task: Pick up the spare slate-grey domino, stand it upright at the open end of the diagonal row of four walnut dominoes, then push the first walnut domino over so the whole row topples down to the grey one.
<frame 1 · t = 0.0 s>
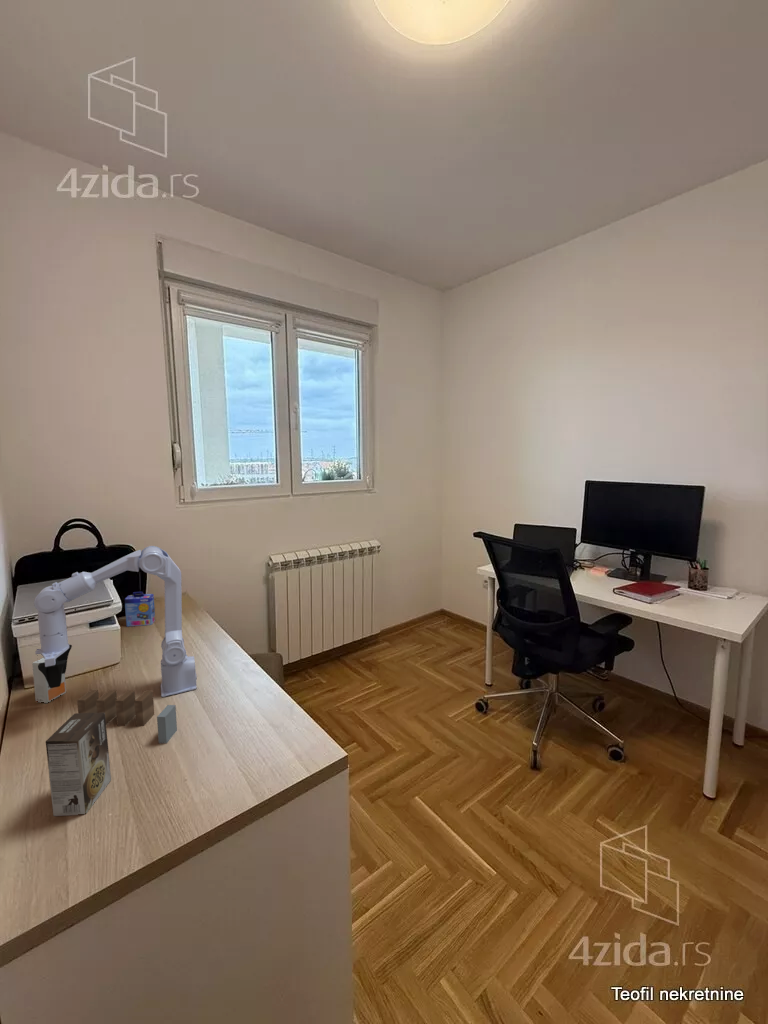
hand: (58, 680, 112), 10 cm above the table, tool pointing down, fingers open, 7 cm apart
domino 1: (89, 719, 112), on the table
domino 4: (145, 720, 111), on the table
domino 3: (126, 719, 111), on the table
ink cartridge box: (141, 624, 177), on the table
domino 2: (108, 719, 112), on the table
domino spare: (168, 736, 105), on the table
coffee box: (83, 798, 86), on the table
skincare box: (51, 697, 122), on the table
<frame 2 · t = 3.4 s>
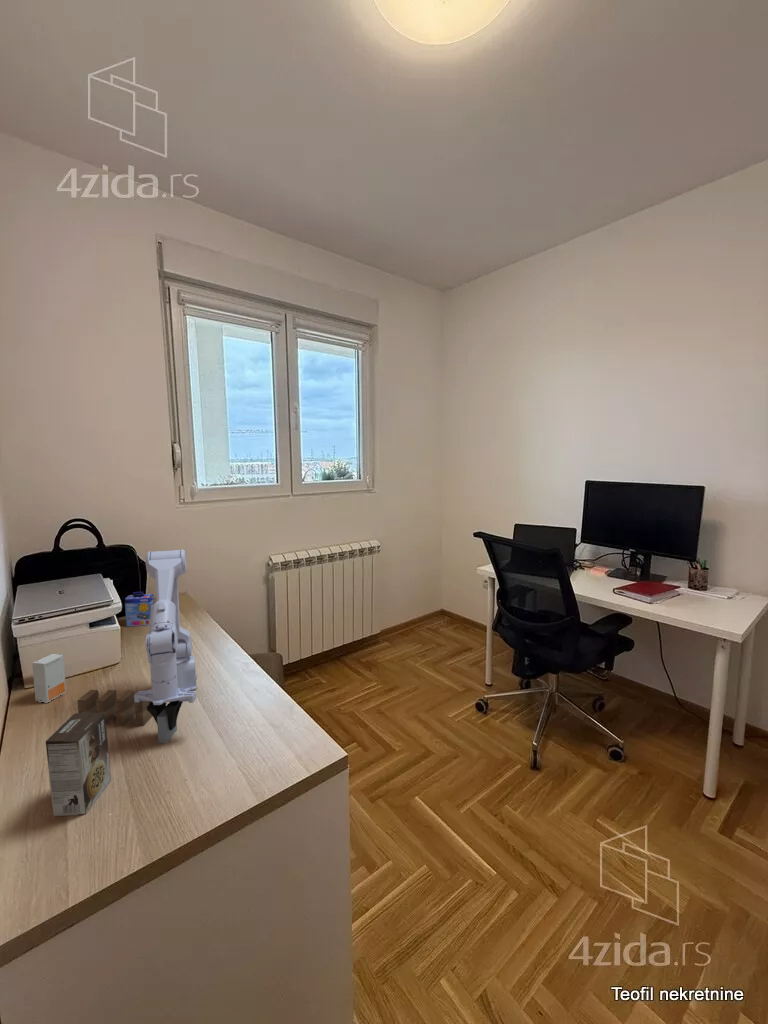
hand: (167, 727, 104), 2 cm above the table, tool pointing down, fingers closed on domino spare, 2 cm apart
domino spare: (168, 736, 105), on the table, touching gripper
everything else where it was.
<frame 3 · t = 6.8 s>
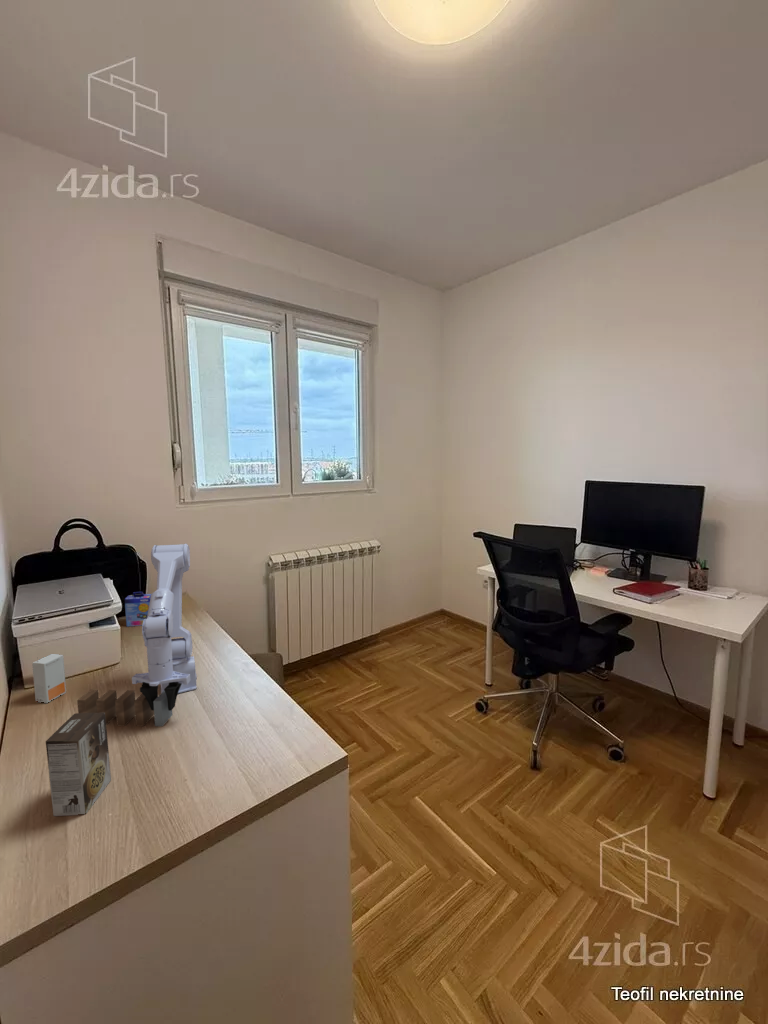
hand: (163, 708, 111), 3 cm above the table, tool pointing down, fingers open, 4 cm apart
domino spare: (163, 720, 111), on the table
everything else where it was.
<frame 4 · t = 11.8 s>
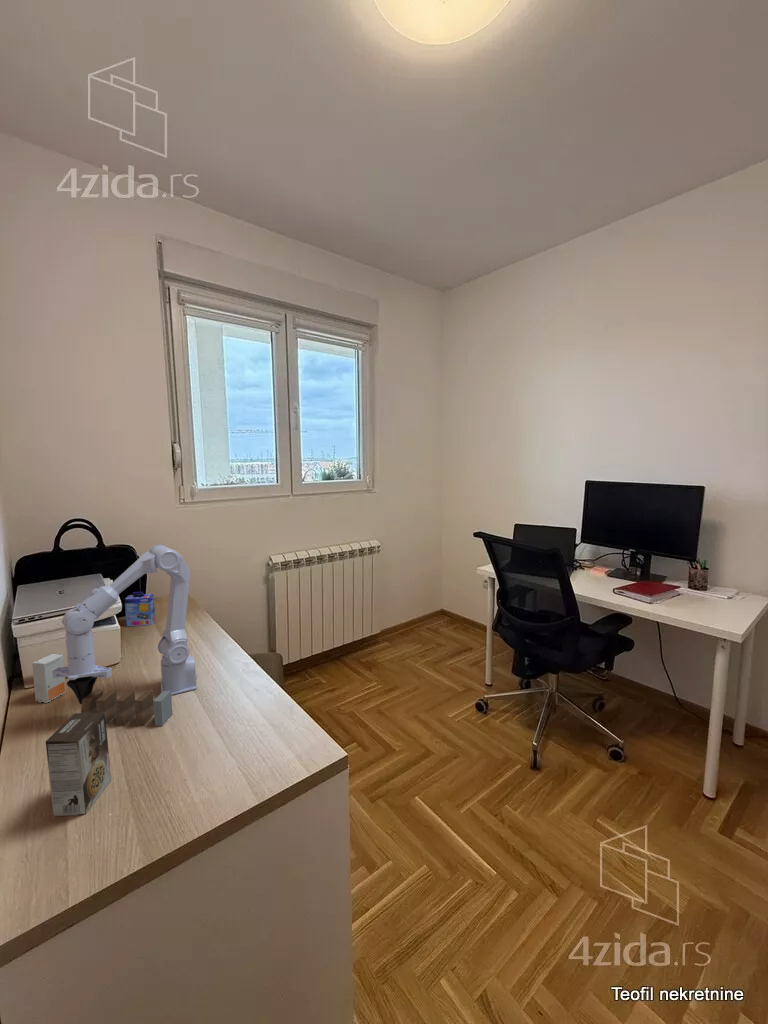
hand: (85, 702, 111), 5 cm above the table, tool pointing down, fingers closed
domino 1: (89, 718, 112), on the table, tilted 12°
everything else where it was.
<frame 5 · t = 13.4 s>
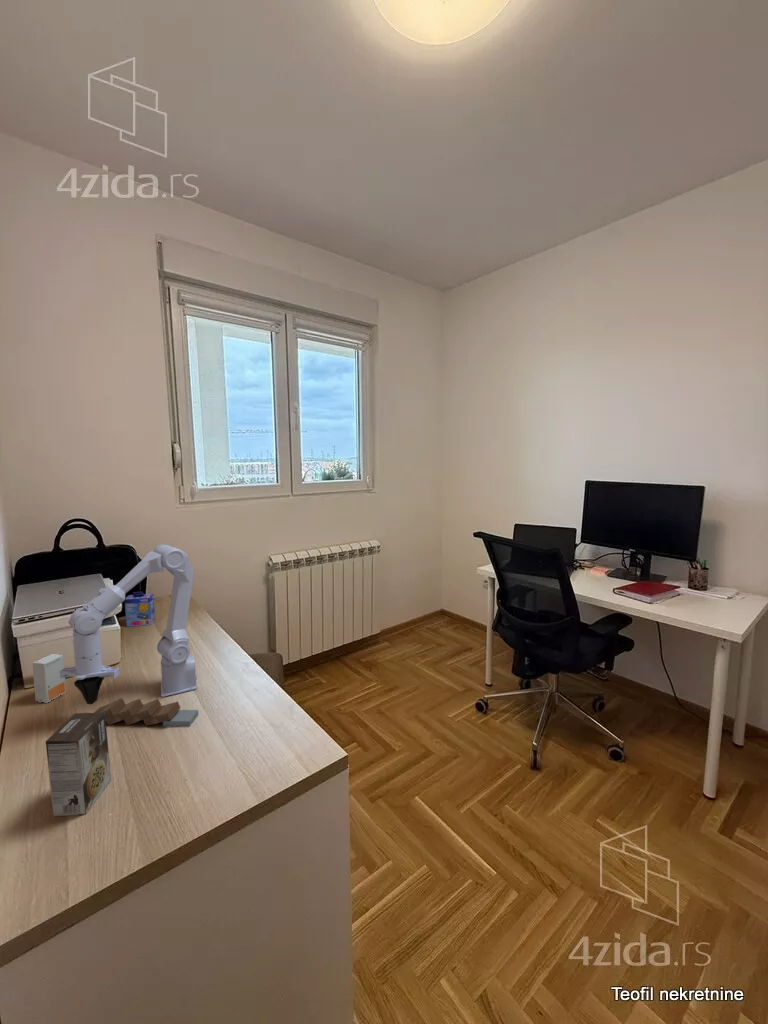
hand: (92, 702, 111), 5 cm above the table, tool pointing down, fingers closed
domino 1: (94, 716, 111), point 1 cm above the table, tilted 66°, touching domino 2
domino 4: (150, 716, 111), point 1 cm above the table, tilted 72°, touching domino 3
domino 3: (131, 716, 111), point 1 cm above the table, tilted 66°, touching domino 2, domino 4
domino 2: (112, 716, 111), point 1 cm above the table, tilted 66°, touching domino 1, domino 3
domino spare: (168, 718, 111), on the table, tilted 90°
everything else where it was.
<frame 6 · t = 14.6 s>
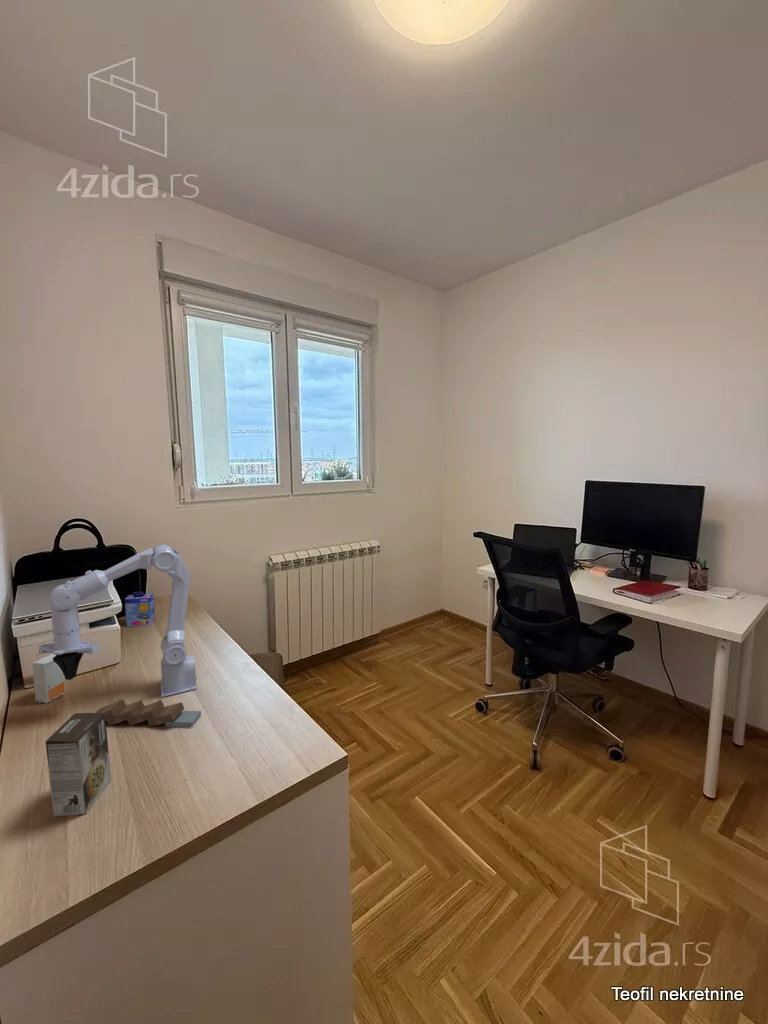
hand: (71, 677, 113), 10 cm above the table, tool pointing down, fingers closed
domino 4: (155, 717, 111), point 1 cm above the table, tilted 70°, touching domino 3, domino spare
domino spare: (170, 719, 111), on the table, tilted 90°, touching domino 4
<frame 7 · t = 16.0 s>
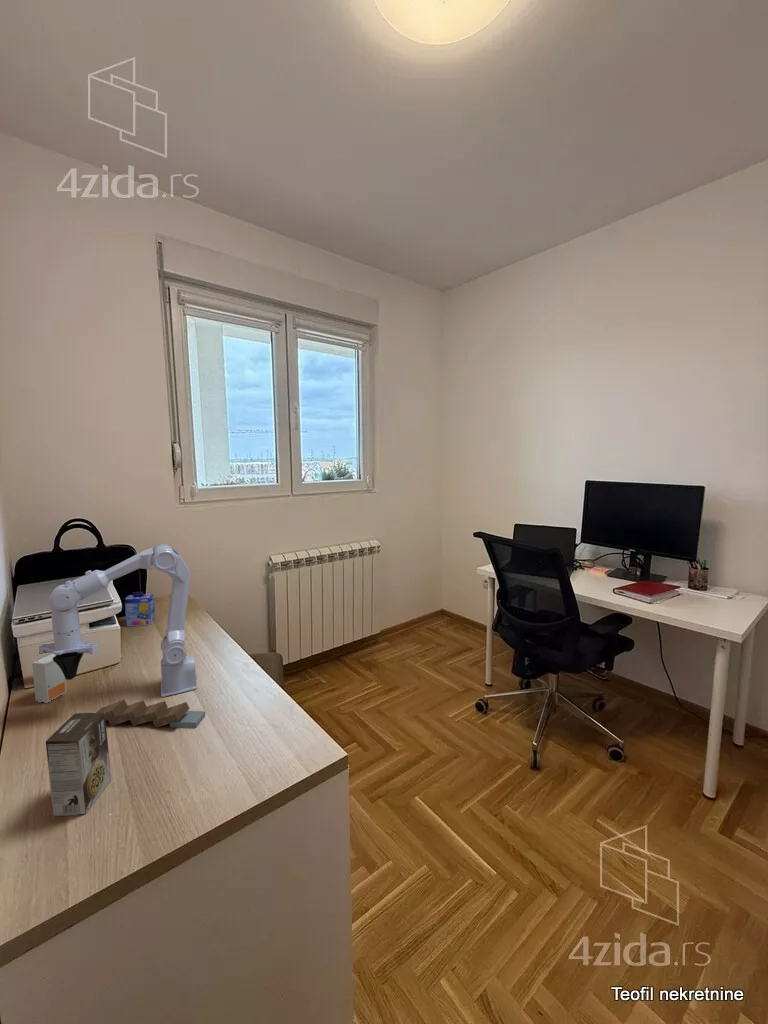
hand: (71, 677, 113), 10 cm above the table, tool pointing down, fingers closed
domino 4: (160, 718, 111), point 1 cm above the table, tilted 67°, touching domino 3, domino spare
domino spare: (175, 719, 111), on the table, tilted 90°, touching domino 4
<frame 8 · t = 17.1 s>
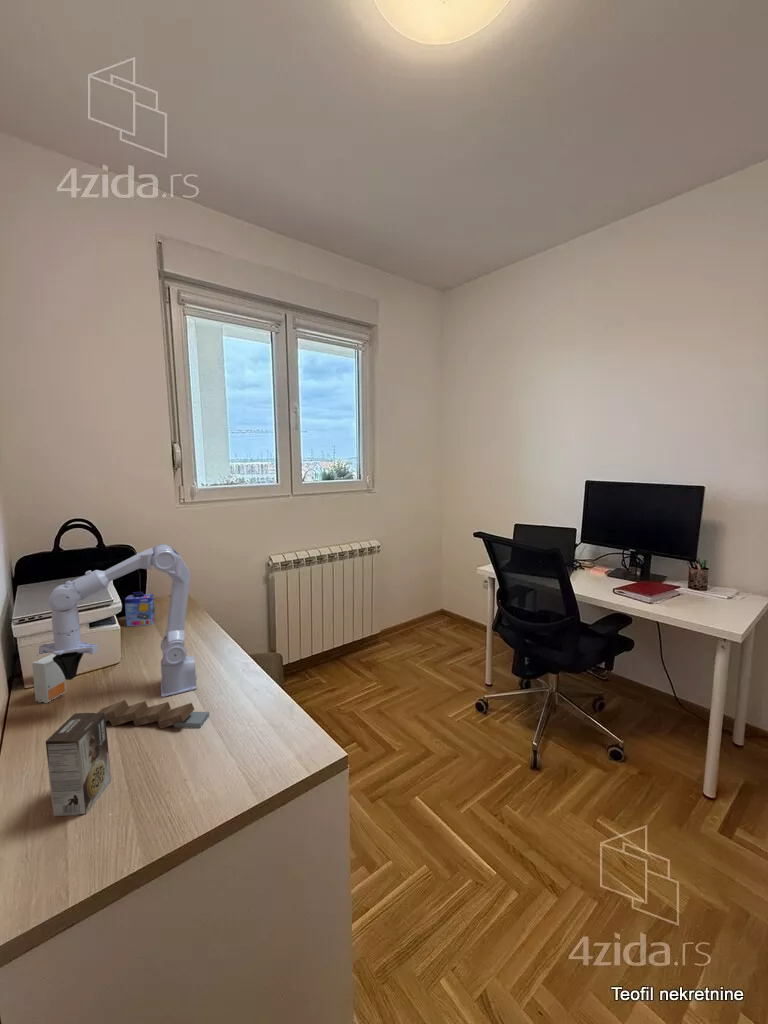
hand: (71, 677, 113), 10 cm above the table, tool pointing down, fingers closed
domino 4: (165, 719, 110), point 1 cm above the table, tilted 68°
domino 3: (140, 717, 111), point 1 cm above the table, tilted 73°, touching domino 2
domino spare: (178, 720, 111), on the table, tilted 90°
at the end: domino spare tilted 90°; domino 4 tilted 69°; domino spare inside the target area (3.6 cm from its centre), on the table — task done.
